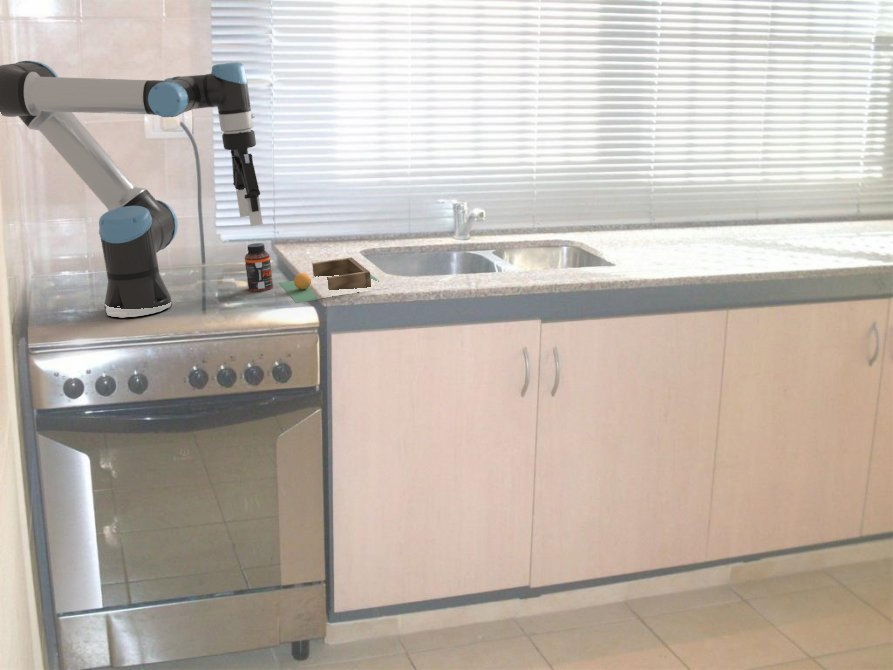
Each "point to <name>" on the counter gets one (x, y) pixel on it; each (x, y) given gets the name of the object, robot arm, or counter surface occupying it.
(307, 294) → the pitch mat
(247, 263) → the supplement bottle
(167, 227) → the robot arm
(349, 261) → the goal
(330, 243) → the counter surface
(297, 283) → the ball
